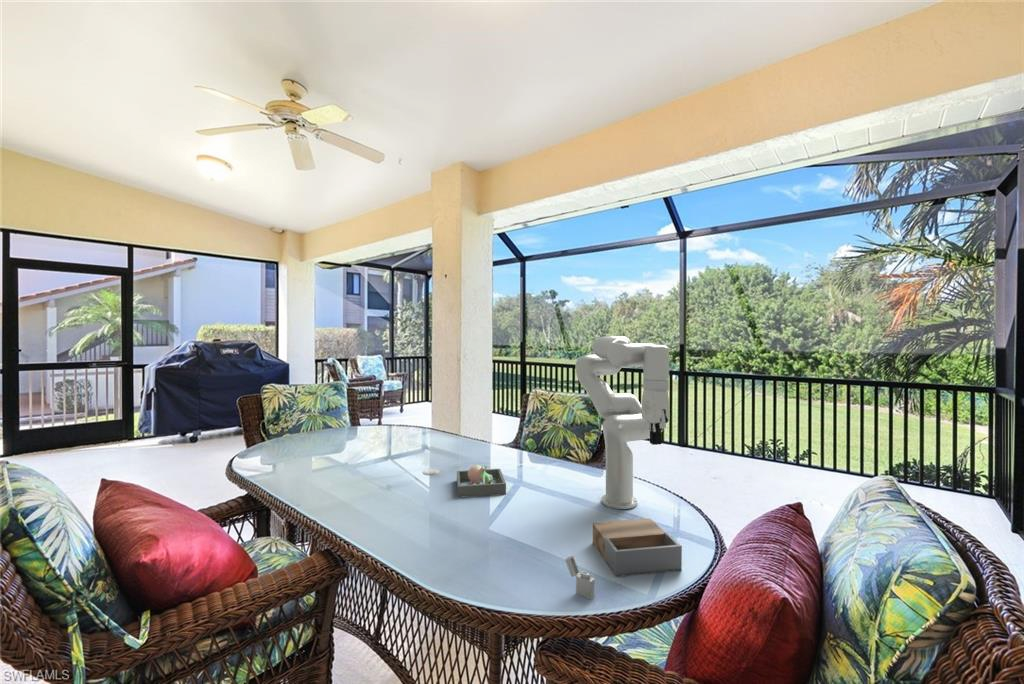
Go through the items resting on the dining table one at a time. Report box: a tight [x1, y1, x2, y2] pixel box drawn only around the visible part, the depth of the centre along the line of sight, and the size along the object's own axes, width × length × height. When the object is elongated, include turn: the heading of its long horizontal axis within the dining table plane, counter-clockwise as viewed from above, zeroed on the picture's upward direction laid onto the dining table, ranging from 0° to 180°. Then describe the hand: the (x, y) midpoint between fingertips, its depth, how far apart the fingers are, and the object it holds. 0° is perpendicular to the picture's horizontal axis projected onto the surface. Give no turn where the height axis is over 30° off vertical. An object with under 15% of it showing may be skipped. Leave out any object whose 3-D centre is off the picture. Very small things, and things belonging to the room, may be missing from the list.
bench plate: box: [592, 517, 665, 561], centre depth 129 cm, size 10×18×6 cm, turn 99°
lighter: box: [564, 555, 595, 600], centre depth 109 cm, size 7×2×8 cm, turn 52°
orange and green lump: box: [466, 464, 494, 485], centre depth 179 cm, size 12×10×9 cm
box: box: [604, 531, 683, 578], centre depth 120 cm, size 8×18×6 cm, turn 99°
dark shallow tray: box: [456, 468, 507, 498], centre depth 179 cm, size 18×18×4 cm
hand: (655, 443), depth 140 cm, fingers closed
